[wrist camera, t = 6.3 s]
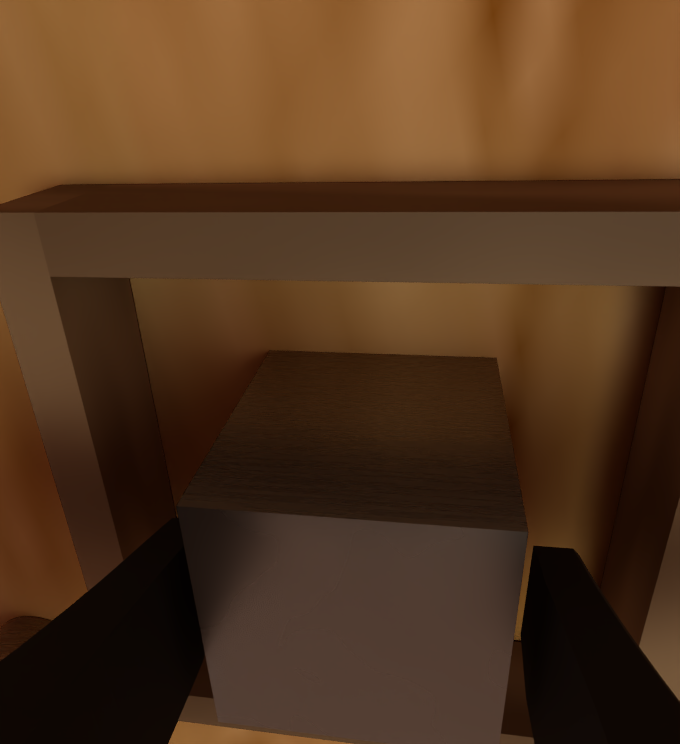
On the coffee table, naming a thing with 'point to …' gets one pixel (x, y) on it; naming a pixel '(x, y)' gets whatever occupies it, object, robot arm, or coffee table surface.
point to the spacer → (19, 633)
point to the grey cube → (360, 549)
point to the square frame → (328, 263)
